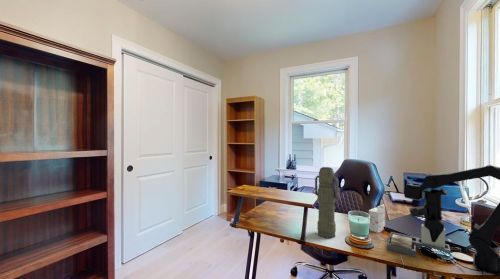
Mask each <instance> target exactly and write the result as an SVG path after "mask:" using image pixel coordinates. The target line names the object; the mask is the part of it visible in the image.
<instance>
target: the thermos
mask: <svg viewBox="0 0 500 279" xmlns="http://www.w3.org/2000/svg"><path fill="white" fill-rule="evenodd" d="M339 182H340V181H339V178H337V177H335V172H334V169H333V168H332V167H328V166H322V167H320V168H319V171H318V175H316V176H315V178H314V194H315V195H316V196H317V203H318V220H317V222H316V225H317V229H316V230H317V235H318V236H319V237H320V238H324V239H334V238H335V237H336V230H337V229H336V221H335V209H336V208H335V203H336V199H337V198H339ZM318 183H319V184H318Z"/></svg>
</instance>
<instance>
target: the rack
mask: <svg viewBox="0 0 500 279" xmlns="http://www.w3.org/2000/svg"><path fill="white" fill-rule="evenodd" d="M393 234H395V235H399V236H404V237H408V238H412V246H411V249H409V248H405V247H401V246H398V245H394V244H391V239H392V236H393ZM387 240H388V241H387V244H386V251H389V252H393V253H396V254H401V255H404V256H408V257H411V258H416V251H417V250H419V248H420V247H422V246H425V247H430V248H434V249H437V250H440V251H443V252H445V253H448V254H450V255H451V248H450V244H447V243H445V248H442V247H437V246H433V245H429V244H424V243H421V238H420V237H417V236H412V235H407V234H403V233H398V232H393V231H390V234H389V238H388V239H387ZM419 251H420V250H419Z"/></svg>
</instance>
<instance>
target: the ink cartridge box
mask: <svg viewBox="0 0 500 279" xmlns="http://www.w3.org/2000/svg"><path fill="white" fill-rule="evenodd" d="M369 215H370V218H371V219H370V230H369V231H371V232H375V233H381V232H382V231H385V229H384V227H385V228H386V206H385V204H384V203H383V204H380V205H378V206H377V207H373V208H371V209H369V210H368V216H369Z"/></svg>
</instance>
